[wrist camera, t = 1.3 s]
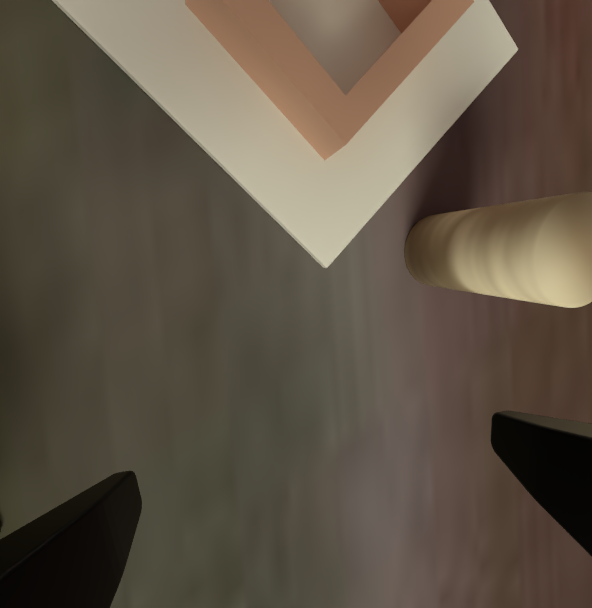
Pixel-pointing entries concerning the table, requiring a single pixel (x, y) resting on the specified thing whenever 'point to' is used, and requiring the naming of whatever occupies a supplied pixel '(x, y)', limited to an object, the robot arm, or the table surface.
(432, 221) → the birch peg
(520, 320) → the table surface
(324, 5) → the socket plate
